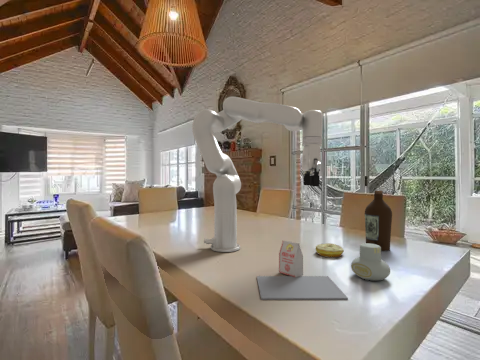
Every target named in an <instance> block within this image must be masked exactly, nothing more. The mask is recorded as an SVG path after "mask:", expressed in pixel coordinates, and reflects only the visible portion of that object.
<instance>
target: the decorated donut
mask: <svg viewBox="0 0 480 360" xmlns="http://www.w3.org/2000/svg"><path fill="white" fill-rule="evenodd" d="M315 251H316V253H317V254H318V255H319V256H321V257H326V258H339V257H341V256H342V255H343V253H344V251H345V249H344V248H343V247H342V246H341V245H338V244H335V243H331V242H330V243H328V242H327V243H320V244H317V245H316V246H315Z"/></svg>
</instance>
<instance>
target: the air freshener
mask: <svg viewBox="0 0 480 360" xmlns="http://www.w3.org/2000/svg"><path fill="white" fill-rule="evenodd" d="M350 269H351V271H352V272H353V273H354V274H355V275H356V276H357V277H359V278H360V279H362V280H364V279H365V281H369V280H370V282H371V281H374V282H377V281H382V280H385V279H387V278H388V277H389V276H390V274H391V268H390V266H389V264H388V263H387V262H386V261H385V260H383V259H382V251H381V247H380V246H379V245H376V244H370V243H366V242H365V243H361V244H360V245H359V256H357V257H356V258H354V259H353V260H352V261H351V263H350Z"/></svg>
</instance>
